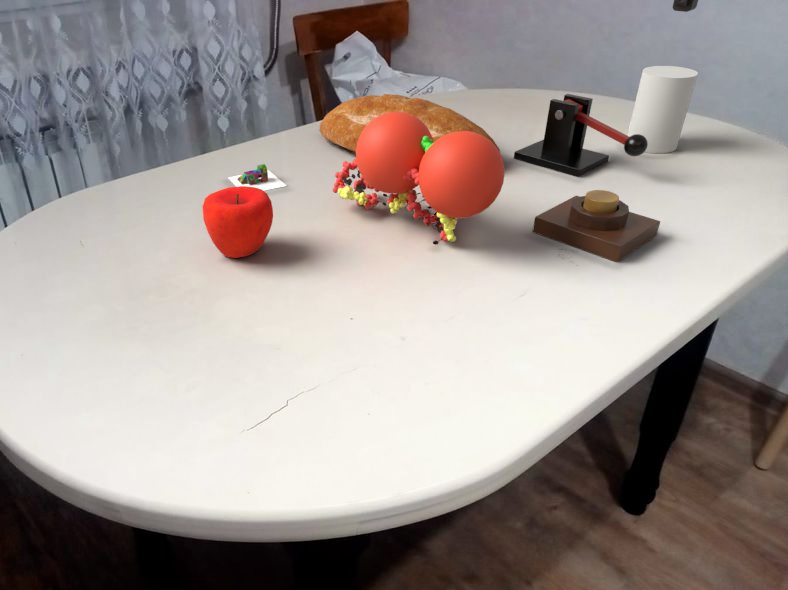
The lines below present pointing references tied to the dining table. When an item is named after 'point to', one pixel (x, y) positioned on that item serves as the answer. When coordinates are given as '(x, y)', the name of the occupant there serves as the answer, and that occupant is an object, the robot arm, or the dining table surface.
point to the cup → (662, 106)
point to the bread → (358, 112)
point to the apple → (238, 219)
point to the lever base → (564, 140)
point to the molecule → (423, 171)
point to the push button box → (596, 228)
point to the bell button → (601, 201)
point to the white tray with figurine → (257, 179)
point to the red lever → (614, 133)
